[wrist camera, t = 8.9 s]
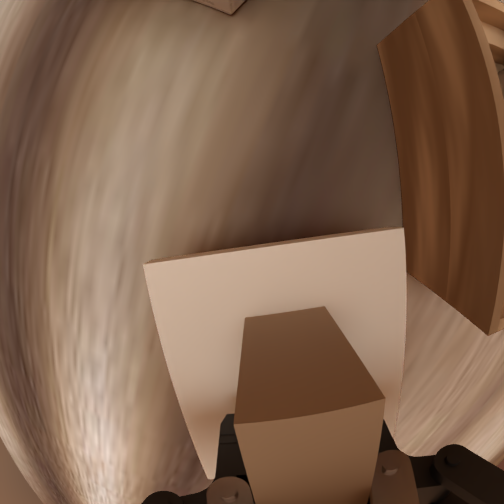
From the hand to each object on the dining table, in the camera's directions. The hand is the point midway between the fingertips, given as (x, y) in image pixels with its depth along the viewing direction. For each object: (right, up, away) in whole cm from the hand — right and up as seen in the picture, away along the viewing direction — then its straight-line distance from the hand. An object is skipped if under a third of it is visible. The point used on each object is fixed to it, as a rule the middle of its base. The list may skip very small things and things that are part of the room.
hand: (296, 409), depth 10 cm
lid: (0, +1, +2) cm, 2 cm away
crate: (+13, +13, +5) cm, 18 cm away
